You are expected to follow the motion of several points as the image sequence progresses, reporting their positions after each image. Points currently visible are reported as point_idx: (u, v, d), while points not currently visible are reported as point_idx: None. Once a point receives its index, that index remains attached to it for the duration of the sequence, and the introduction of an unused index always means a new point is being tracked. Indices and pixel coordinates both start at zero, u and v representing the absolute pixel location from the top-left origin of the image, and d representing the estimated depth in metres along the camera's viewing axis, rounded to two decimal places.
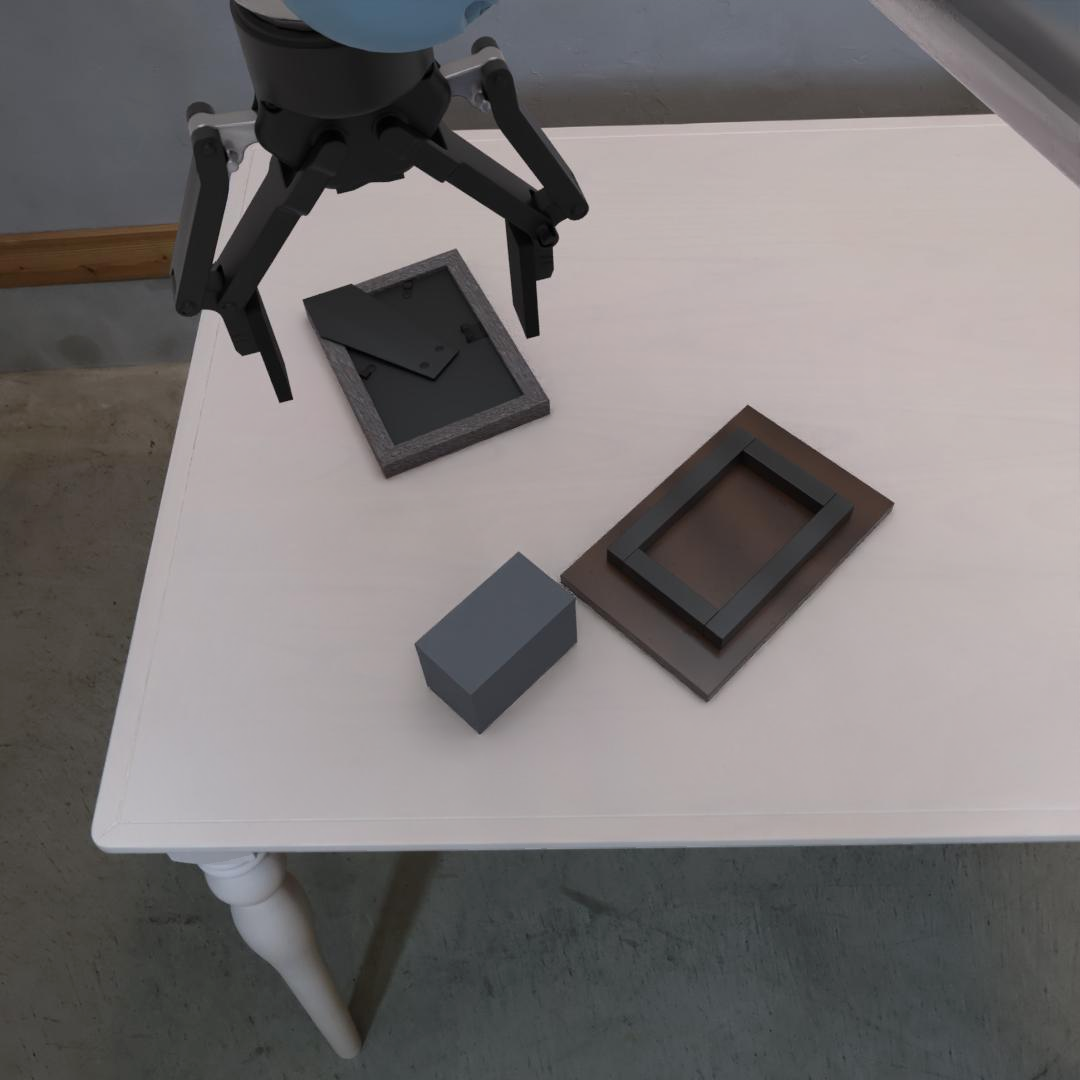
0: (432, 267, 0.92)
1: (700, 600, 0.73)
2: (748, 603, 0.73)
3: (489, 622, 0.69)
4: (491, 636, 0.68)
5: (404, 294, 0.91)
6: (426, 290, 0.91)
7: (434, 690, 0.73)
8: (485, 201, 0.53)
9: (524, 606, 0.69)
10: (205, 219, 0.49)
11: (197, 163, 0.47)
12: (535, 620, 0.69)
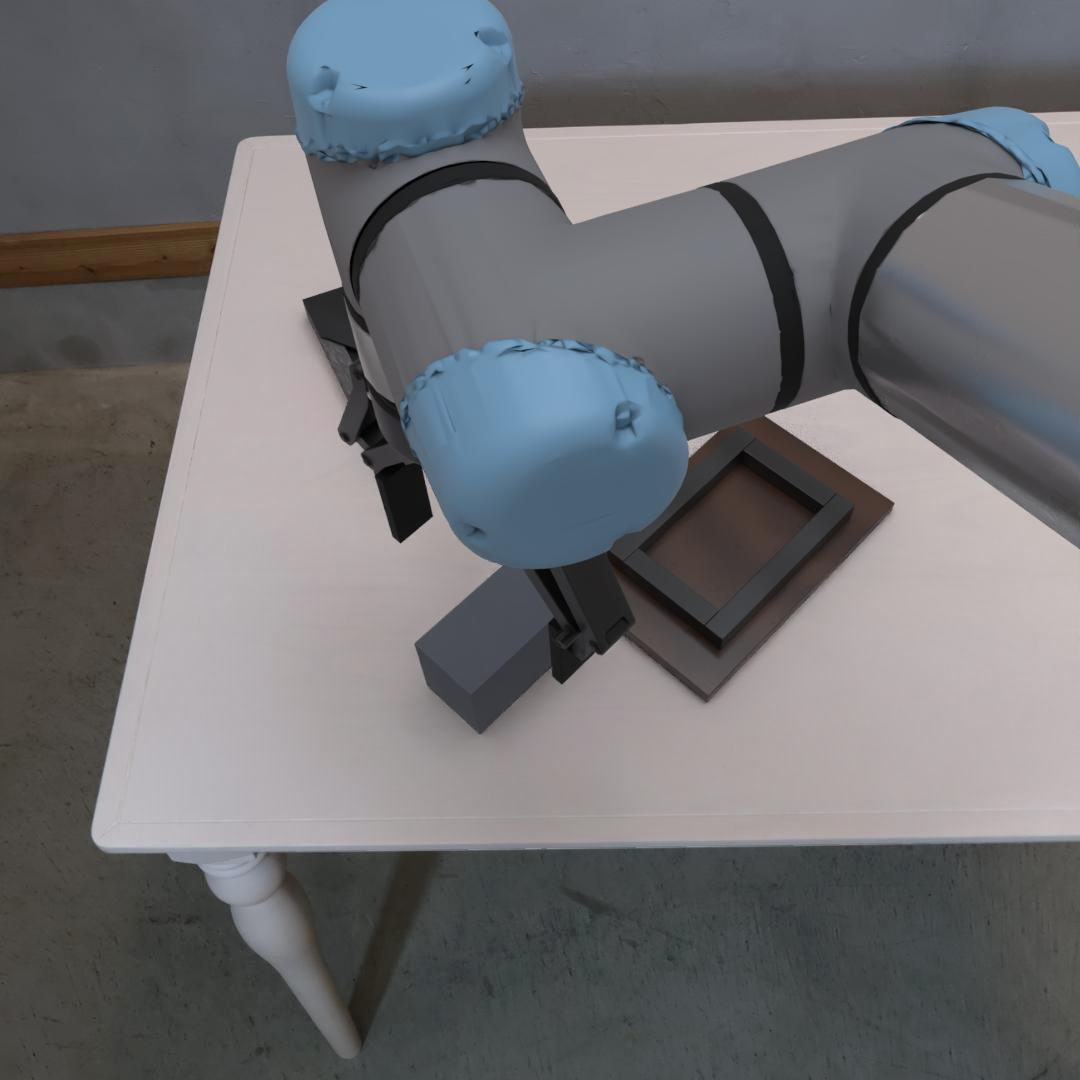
0: None
1: (700, 600, 0.73)
2: (748, 603, 0.73)
3: (489, 622, 0.69)
4: (491, 636, 0.68)
5: None
6: None
7: (434, 690, 0.73)
8: (527, 573, 0.56)
9: (524, 606, 0.69)
10: (354, 406, 0.58)
11: (351, 375, 0.56)
12: (535, 620, 0.69)
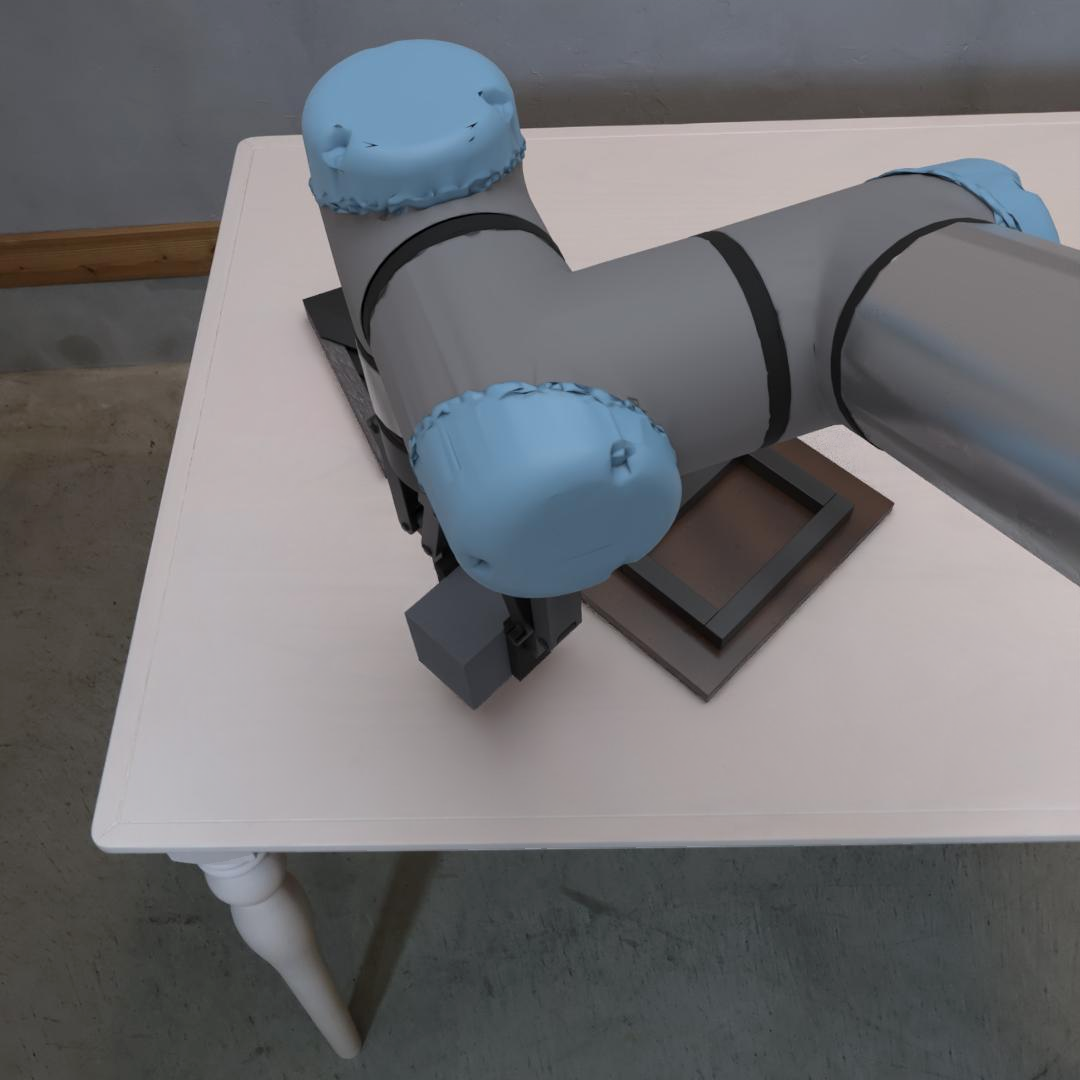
0: None
1: (700, 600, 0.73)
2: (748, 603, 0.73)
3: (484, 591, 0.65)
4: (485, 605, 0.64)
5: None
6: None
7: (426, 665, 0.69)
8: None
9: None
10: (390, 473, 0.61)
11: (372, 434, 0.59)
12: None
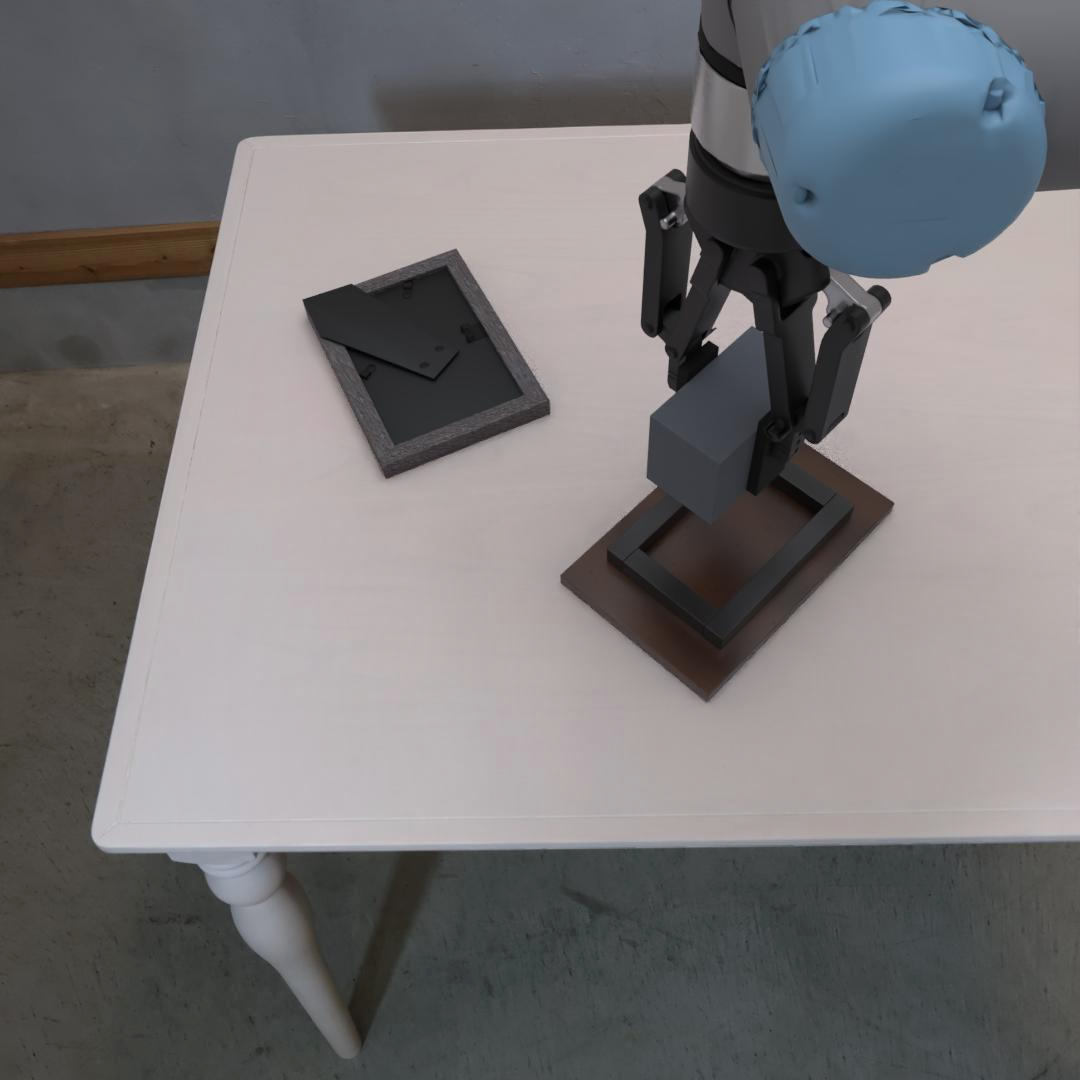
0: (432, 267, 0.92)
1: (700, 600, 0.73)
2: (748, 603, 0.73)
3: (730, 394, 0.63)
4: (734, 407, 0.62)
5: (404, 294, 0.91)
6: (426, 290, 0.91)
7: (656, 481, 0.67)
8: (769, 368, 0.57)
9: (766, 378, 0.63)
10: (651, 260, 0.59)
11: (642, 212, 0.57)
12: None
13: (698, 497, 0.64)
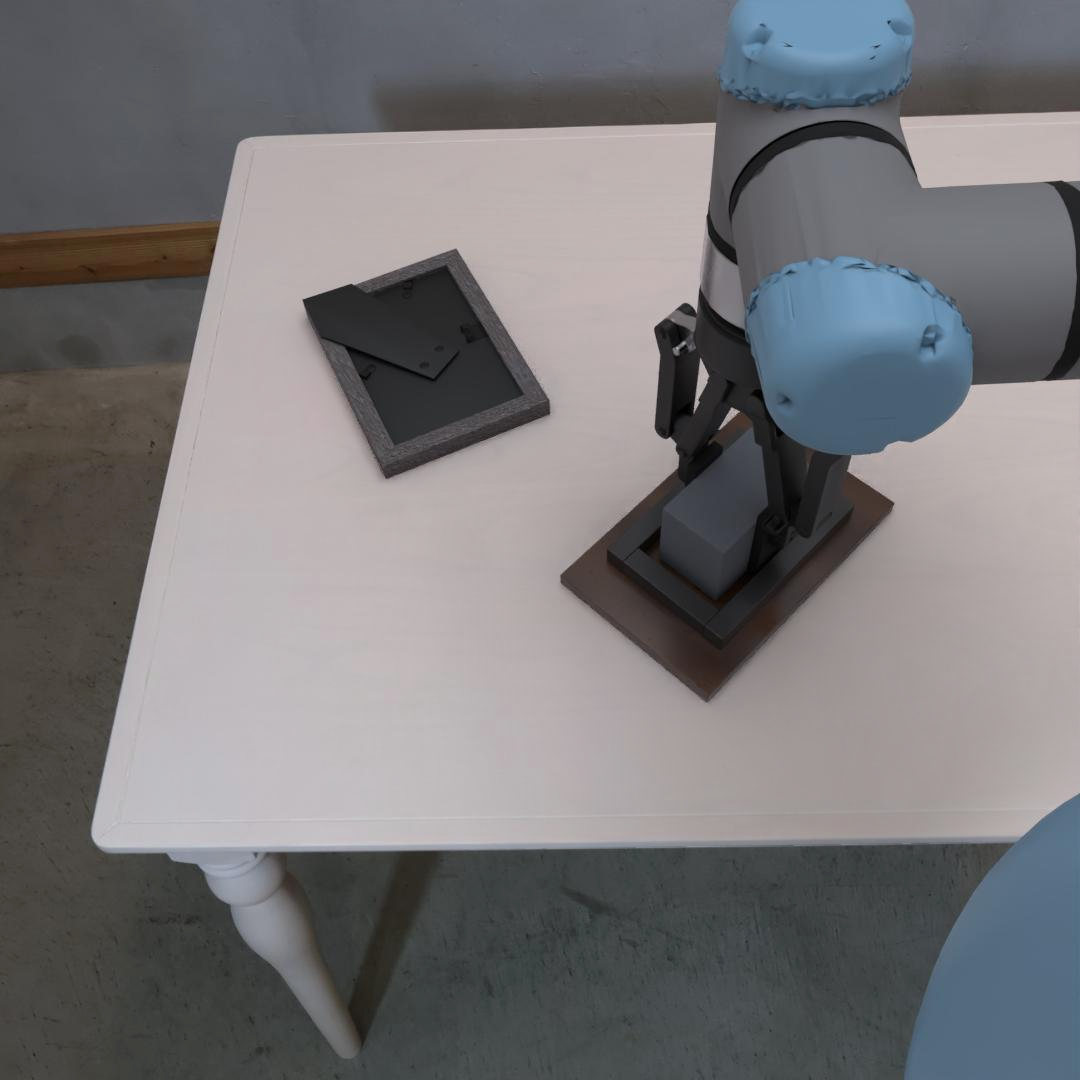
0: (432, 267, 0.92)
1: (700, 600, 0.73)
2: (748, 603, 0.73)
3: (733, 489, 0.72)
4: (736, 501, 0.71)
5: (404, 294, 0.91)
6: (426, 290, 0.91)
7: (667, 561, 0.76)
8: (767, 474, 0.66)
9: None
10: (664, 378, 0.68)
11: (657, 340, 0.66)
12: None
13: (705, 578, 0.73)
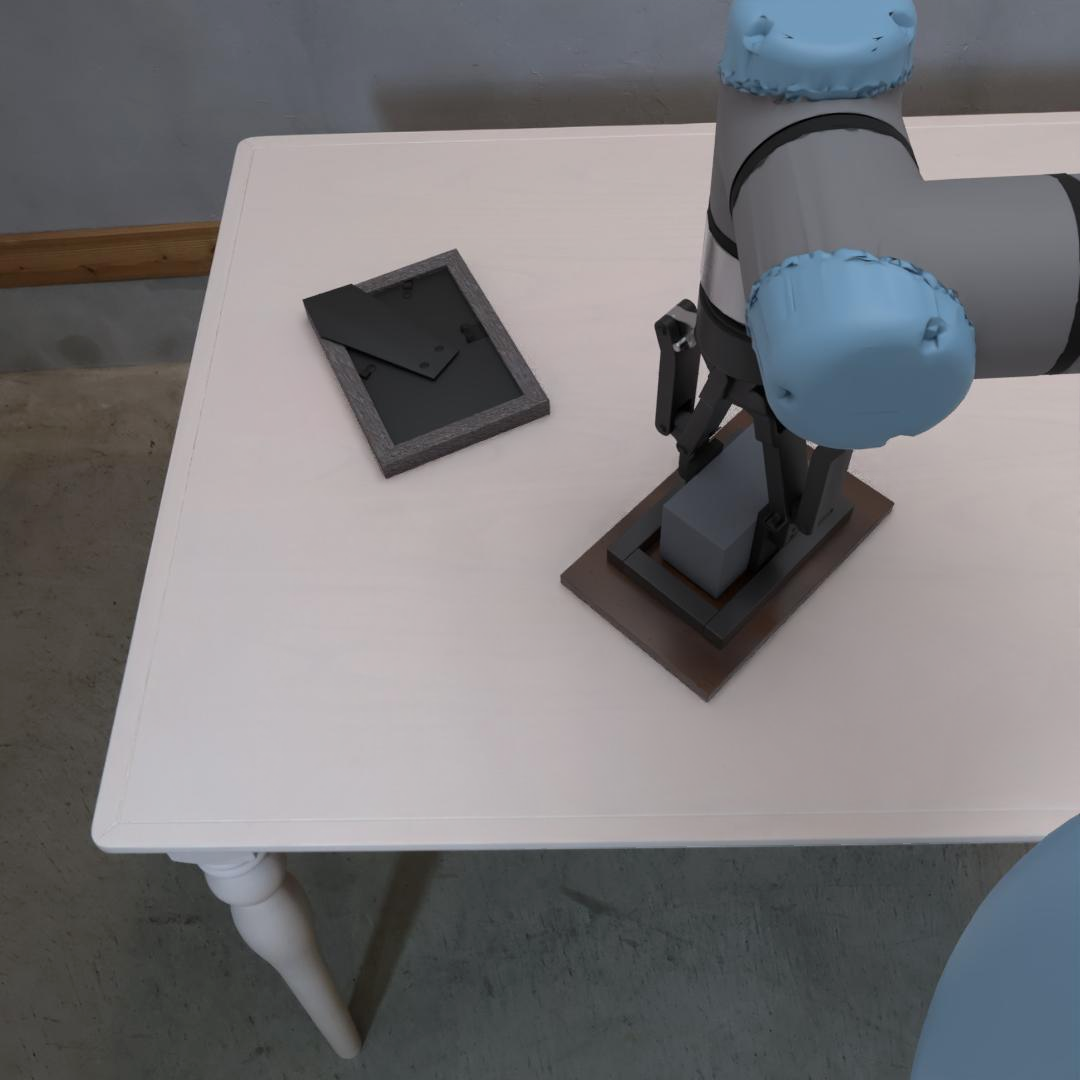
0: (432, 267, 0.92)
1: (700, 600, 0.73)
2: (748, 603, 0.73)
3: (734, 486, 0.71)
4: (737, 498, 0.71)
5: (404, 294, 0.91)
6: (426, 290, 0.91)
7: (668, 559, 0.75)
8: (767, 471, 0.66)
9: None
10: (665, 374, 0.67)
11: (657, 336, 0.65)
12: None
13: (705, 575, 0.73)
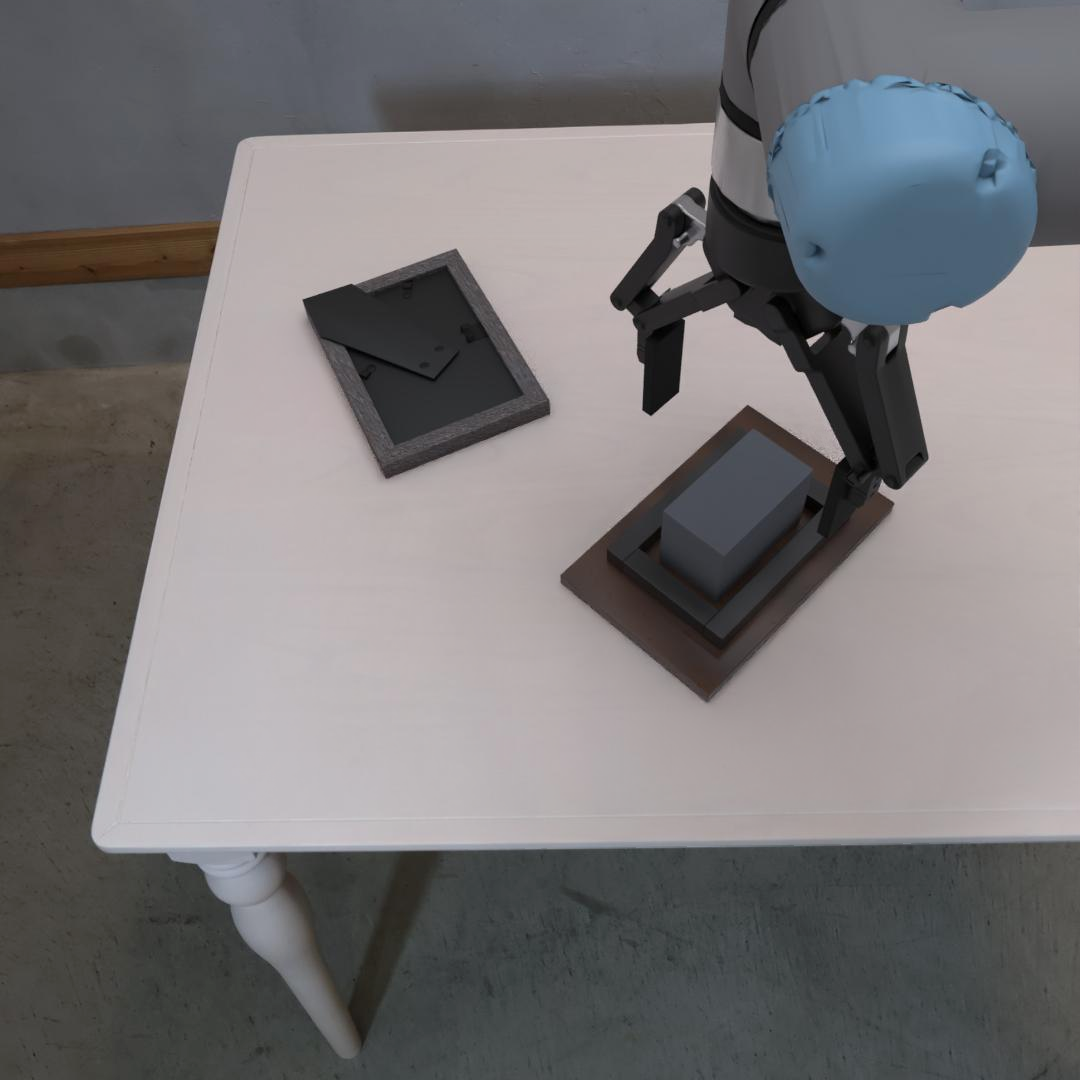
0: (432, 267, 0.92)
1: (700, 600, 0.73)
2: (748, 603, 0.73)
3: (734, 492, 0.72)
4: (736, 504, 0.71)
5: (404, 294, 0.91)
6: (426, 290, 0.91)
7: (668, 563, 0.76)
8: (826, 411, 0.58)
9: (765, 477, 0.72)
10: (648, 260, 0.61)
11: (657, 223, 0.58)
12: (777, 489, 0.72)
13: (705, 580, 0.73)
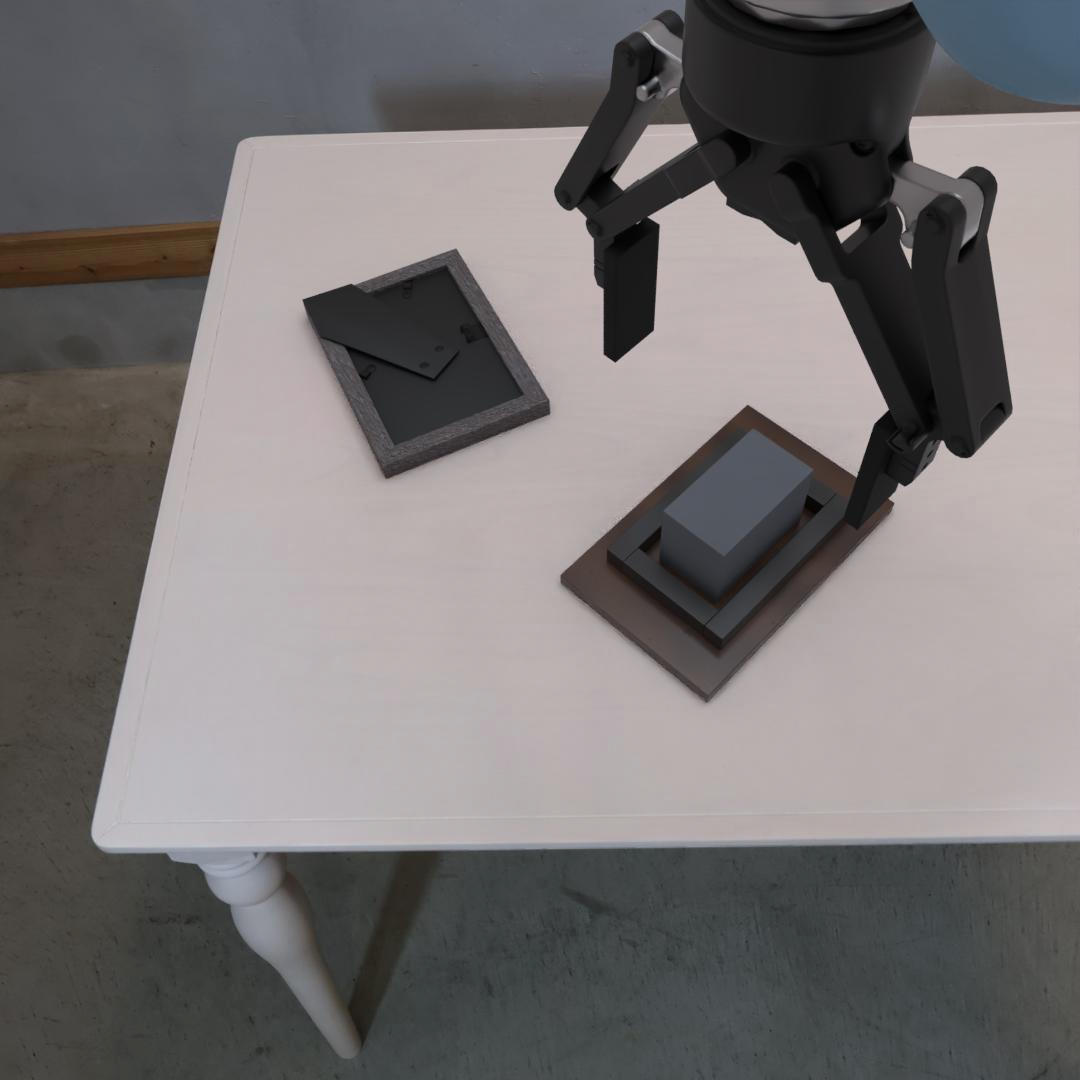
0: (432, 267, 0.92)
1: (700, 600, 0.73)
2: (748, 603, 0.73)
3: (734, 492, 0.72)
4: (736, 504, 0.71)
5: (404, 294, 0.91)
6: (426, 290, 0.91)
7: (668, 563, 0.76)
8: (862, 342, 0.39)
9: (765, 477, 0.72)
10: (602, 126, 0.42)
11: (613, 65, 0.40)
12: (777, 489, 0.72)
13: (705, 580, 0.73)
